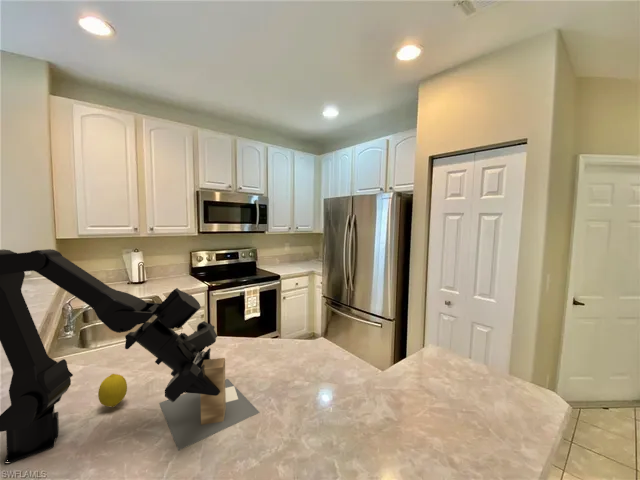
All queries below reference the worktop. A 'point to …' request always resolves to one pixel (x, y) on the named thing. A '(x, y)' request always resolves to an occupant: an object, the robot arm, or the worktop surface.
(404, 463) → the worktop surface
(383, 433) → the worktop surface
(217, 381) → the oak block
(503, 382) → the worktop surface
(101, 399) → the lemon
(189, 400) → the mat
